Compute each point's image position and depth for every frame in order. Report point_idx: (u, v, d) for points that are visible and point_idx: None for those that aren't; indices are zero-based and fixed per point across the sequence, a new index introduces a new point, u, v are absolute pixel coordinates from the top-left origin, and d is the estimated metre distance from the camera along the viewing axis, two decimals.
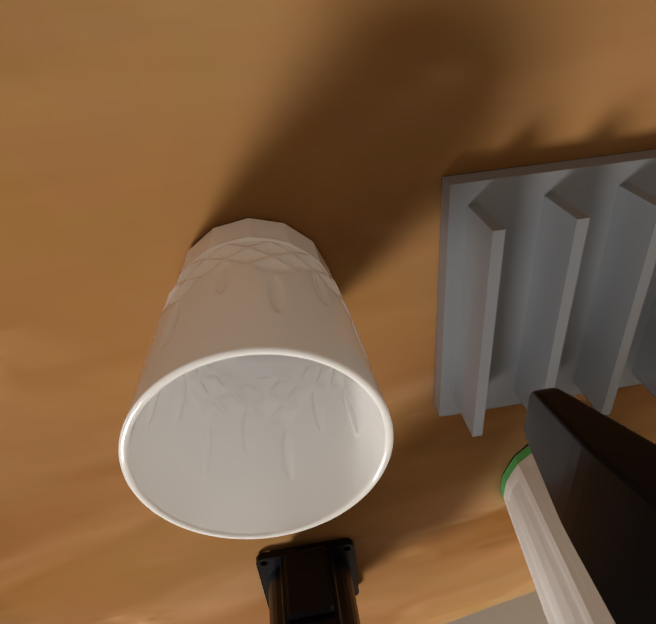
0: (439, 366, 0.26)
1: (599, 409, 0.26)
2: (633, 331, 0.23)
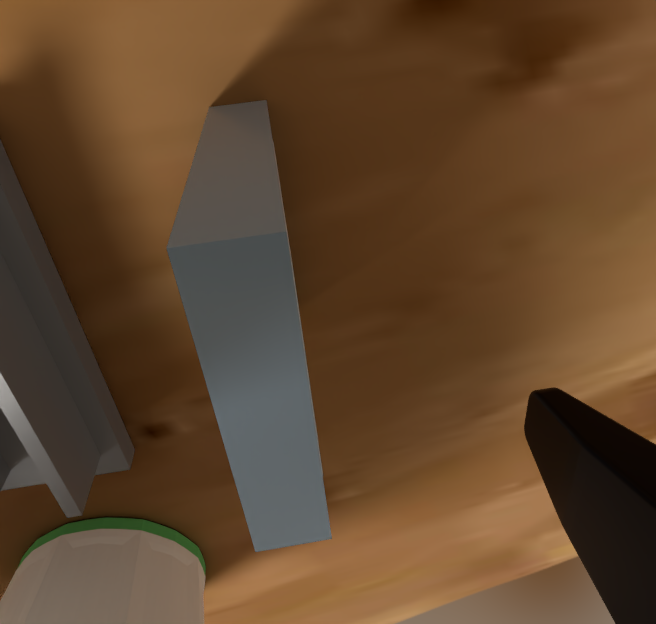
0: None
1: None
2: None
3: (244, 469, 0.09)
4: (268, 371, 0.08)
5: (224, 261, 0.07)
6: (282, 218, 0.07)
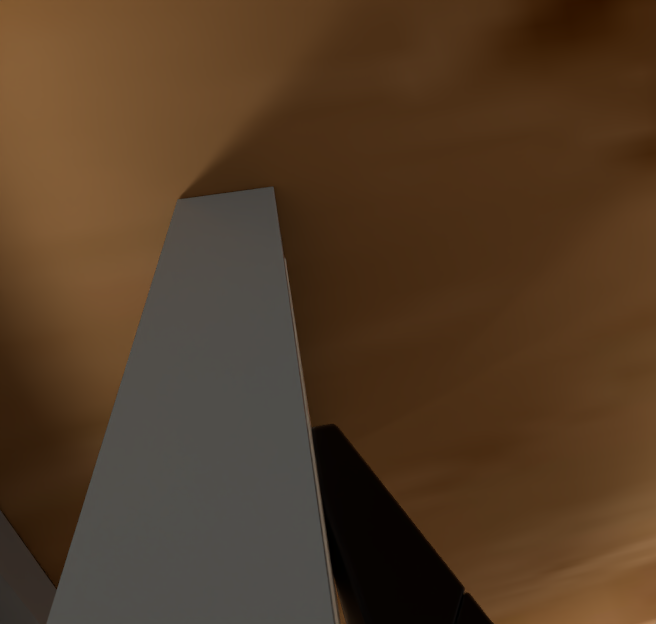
0: None
1: None
2: None
3: None
4: None
5: None
6: None
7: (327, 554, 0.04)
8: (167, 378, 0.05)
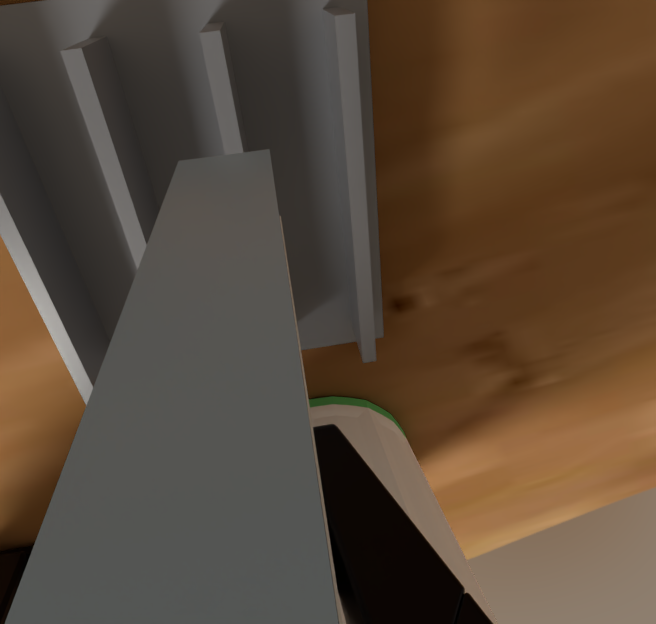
0: None
1: None
2: None
3: None
4: None
5: None
6: None
7: (313, 440, 0.05)
8: (169, 292, 0.05)
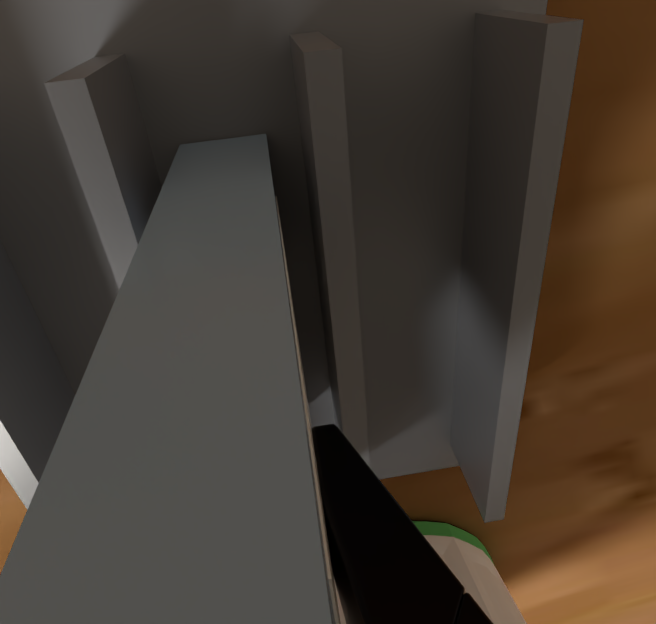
0: None
1: None
2: (361, 388, 0.10)
3: None
4: None
5: None
6: (317, 565, 0.02)
7: (302, 381, 0.05)
8: (171, 252, 0.06)
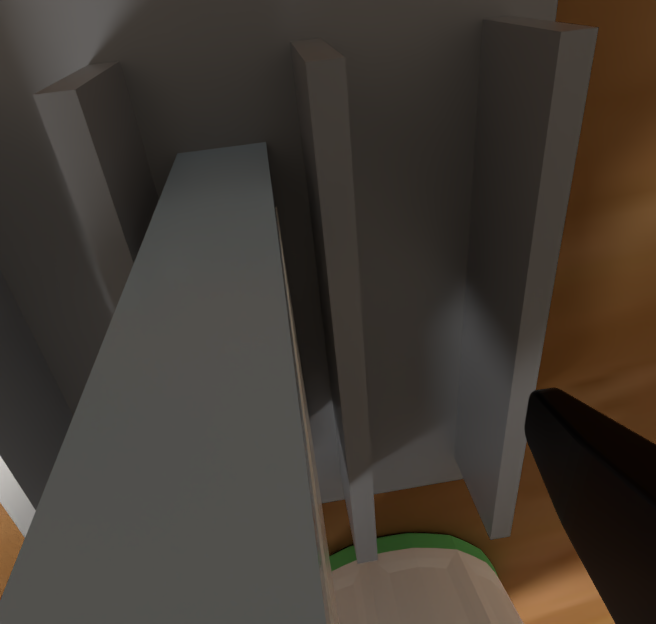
0: None
1: (355, 550, 0.12)
2: (364, 405, 0.10)
3: None
4: None
5: None
6: None
7: (304, 413, 0.05)
8: (167, 275, 0.05)
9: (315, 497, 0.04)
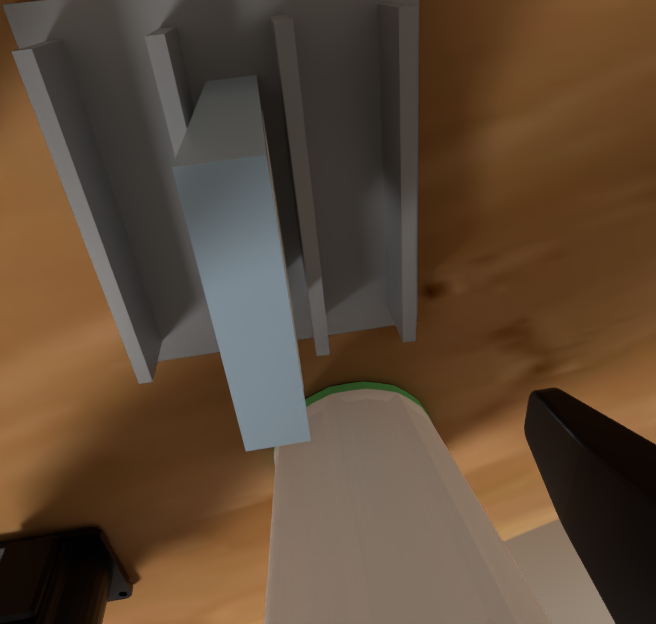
0: None
1: (315, 348, 0.19)
2: (314, 229, 0.17)
3: (235, 369, 0.11)
4: (254, 278, 0.10)
5: (217, 179, 0.09)
6: (263, 147, 0.09)
7: (268, 159, 0.12)
8: (211, 110, 0.12)
9: (270, 171, 0.11)
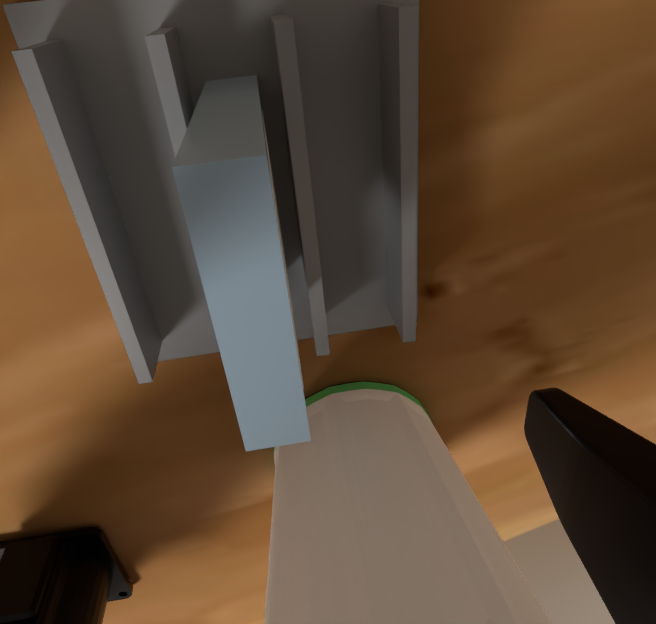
0: None
1: (315, 348, 0.19)
2: (314, 229, 0.17)
3: (235, 369, 0.11)
4: (254, 278, 0.10)
5: (217, 179, 0.09)
6: (264, 147, 0.09)
7: (268, 159, 0.12)
8: (211, 110, 0.12)
9: (270, 171, 0.11)
